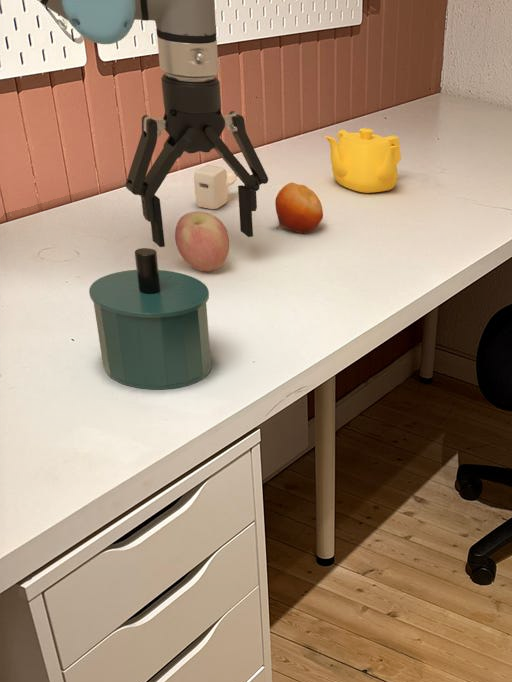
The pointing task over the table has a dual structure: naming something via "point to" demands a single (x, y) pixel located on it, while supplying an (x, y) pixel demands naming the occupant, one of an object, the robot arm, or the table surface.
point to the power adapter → (212, 186)
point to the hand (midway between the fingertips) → (203, 239)
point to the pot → (155, 348)
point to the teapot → (365, 160)
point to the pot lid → (148, 290)
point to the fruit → (298, 208)
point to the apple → (202, 240)
